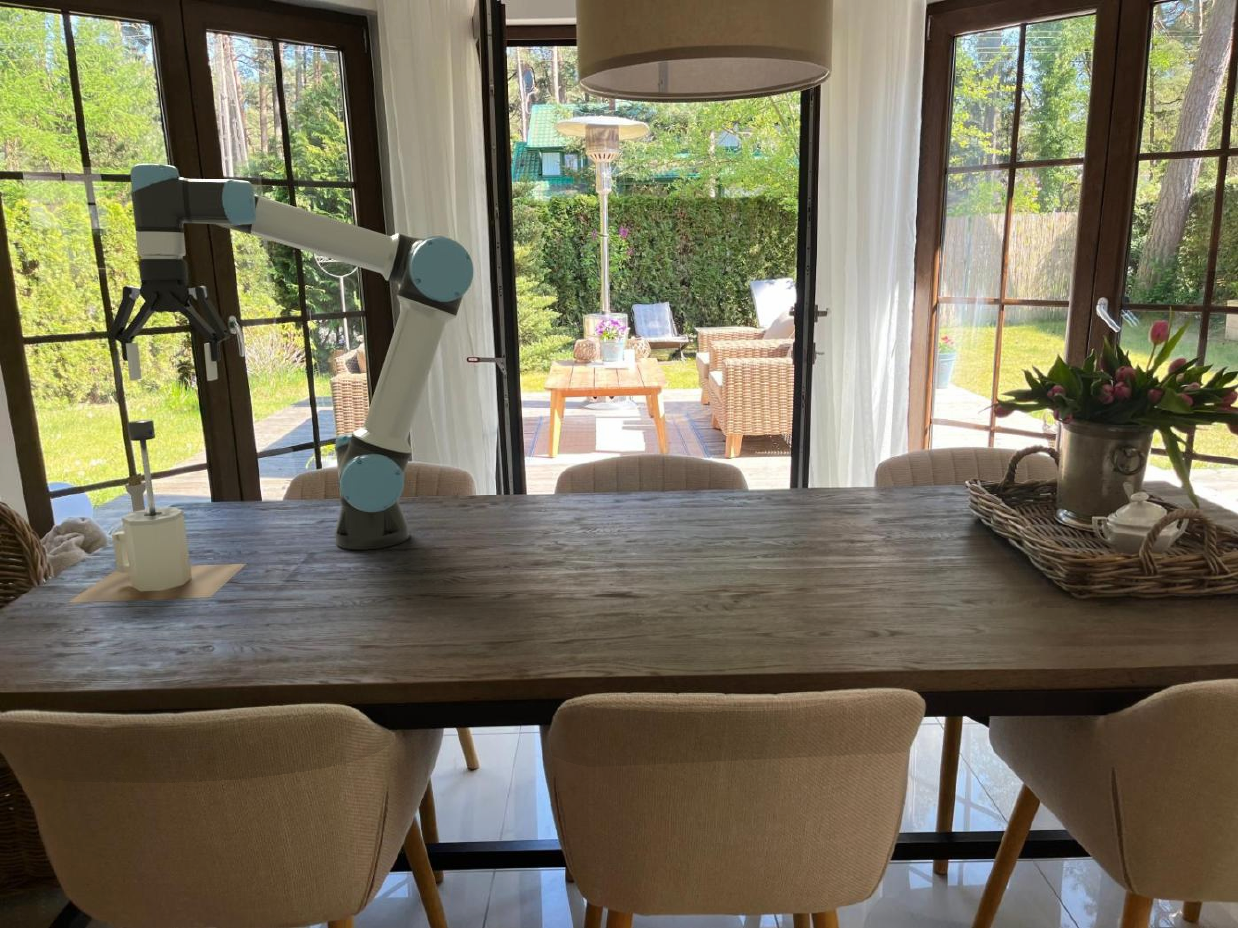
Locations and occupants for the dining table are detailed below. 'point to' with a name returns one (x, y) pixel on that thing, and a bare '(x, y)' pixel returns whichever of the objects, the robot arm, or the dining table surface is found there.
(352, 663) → the dining table surface
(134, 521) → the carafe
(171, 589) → the board
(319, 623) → the dining table surface
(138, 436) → the plunger
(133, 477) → the potion bottle
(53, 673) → the dining table surface
